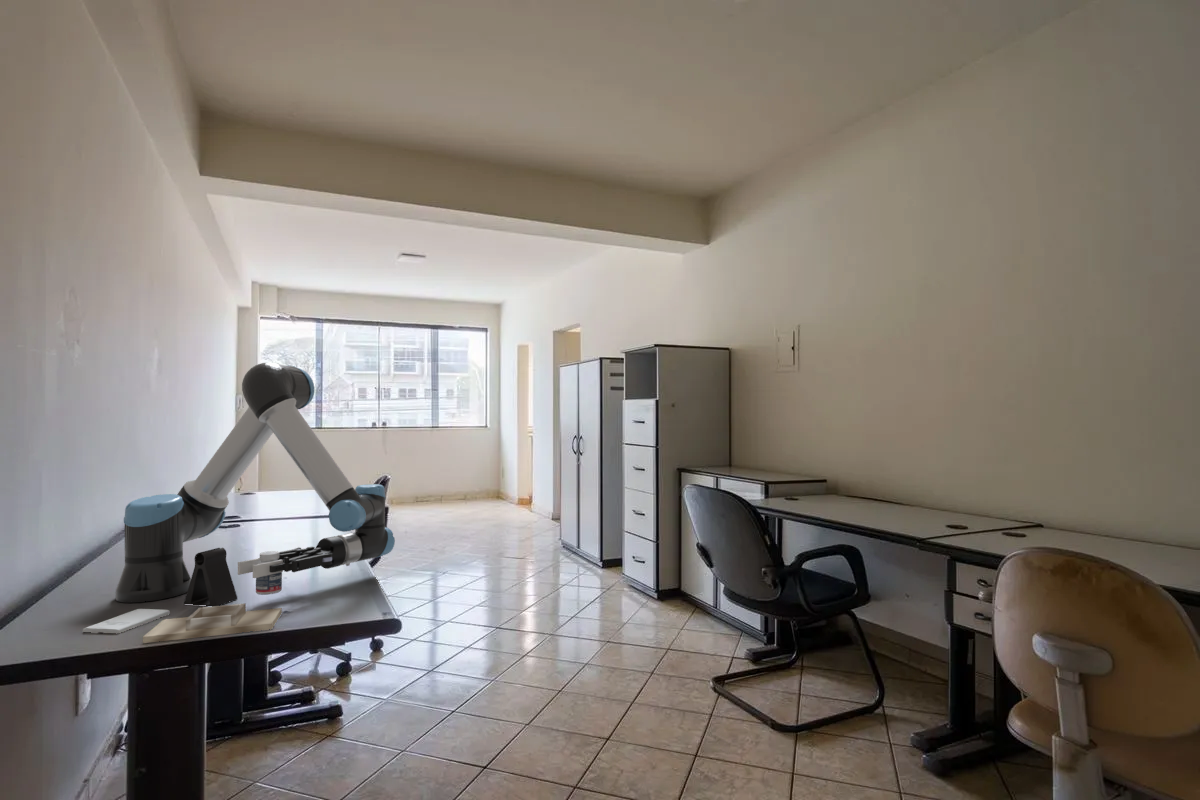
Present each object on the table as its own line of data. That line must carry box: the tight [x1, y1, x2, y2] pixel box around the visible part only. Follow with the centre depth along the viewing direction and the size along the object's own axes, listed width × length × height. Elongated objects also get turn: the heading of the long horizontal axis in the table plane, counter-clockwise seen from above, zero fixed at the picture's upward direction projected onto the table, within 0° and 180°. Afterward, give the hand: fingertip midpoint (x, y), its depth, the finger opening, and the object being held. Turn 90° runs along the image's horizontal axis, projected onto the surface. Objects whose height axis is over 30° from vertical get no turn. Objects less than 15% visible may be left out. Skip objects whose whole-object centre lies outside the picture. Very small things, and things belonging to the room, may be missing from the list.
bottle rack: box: [142, 603, 283, 644], centre depth 129 cm, size 22×11×3 cm, turn 107°
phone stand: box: [183, 547, 238, 606], centre depth 147 cm, size 9×6×12 cm, turn 76°
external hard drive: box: [82, 608, 171, 635], centre depth 133 cm, size 2×8×12 cm
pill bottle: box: [255, 550, 283, 596], centre depth 145 cm, size 5×5×9 cm
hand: (246, 570), depth 141 cm, fingers closed on pill bottle, 5 cm apart
